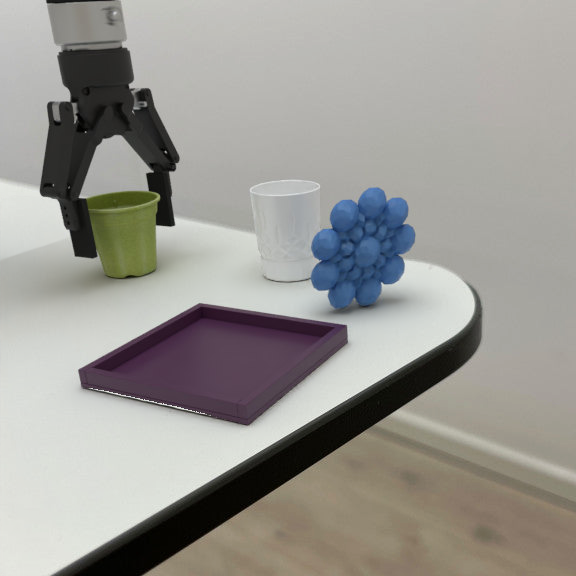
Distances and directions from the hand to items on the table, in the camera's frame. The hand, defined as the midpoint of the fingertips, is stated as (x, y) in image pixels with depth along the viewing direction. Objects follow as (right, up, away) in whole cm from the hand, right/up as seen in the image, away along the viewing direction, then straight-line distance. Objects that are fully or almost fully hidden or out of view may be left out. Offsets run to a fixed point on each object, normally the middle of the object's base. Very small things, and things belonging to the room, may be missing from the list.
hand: (128, 240), depth 91 cm
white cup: (+20, -4, -1) cm, 20 cm away
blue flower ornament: (+28, -8, -11) cm, 31 cm away
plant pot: (0, -4, +2) cm, 4 cm away
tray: (+15, -15, -24) cm, 32 cm away
